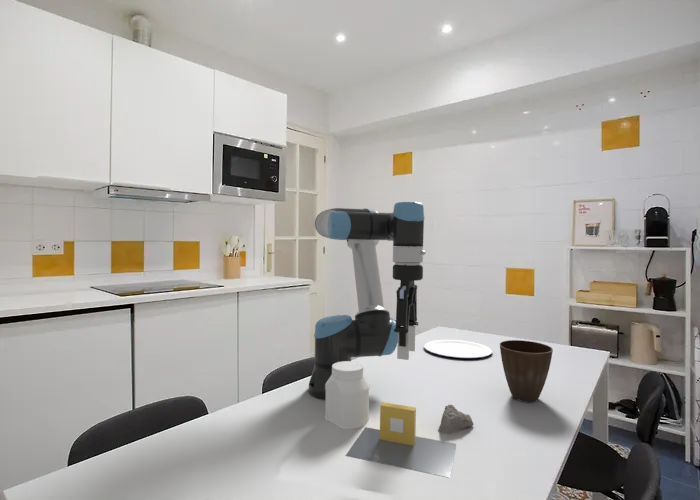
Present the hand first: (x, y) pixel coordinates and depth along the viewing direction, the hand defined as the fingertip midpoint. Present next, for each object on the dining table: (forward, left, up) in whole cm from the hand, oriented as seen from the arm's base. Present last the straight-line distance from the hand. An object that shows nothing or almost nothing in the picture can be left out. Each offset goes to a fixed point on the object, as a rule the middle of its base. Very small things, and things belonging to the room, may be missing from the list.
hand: (406, 354), depth 99 cm
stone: (+11, +4, -19) cm, 23 cm away
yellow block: (0, -9, -18) cm, 20 cm away
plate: (+6, +81, -20) cm, 84 cm away
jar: (-15, -2, -19) cm, 25 cm away
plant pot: (+30, +34, -19) cm, 49 cm away
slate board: (+2, -12, -19) cm, 23 cm away
